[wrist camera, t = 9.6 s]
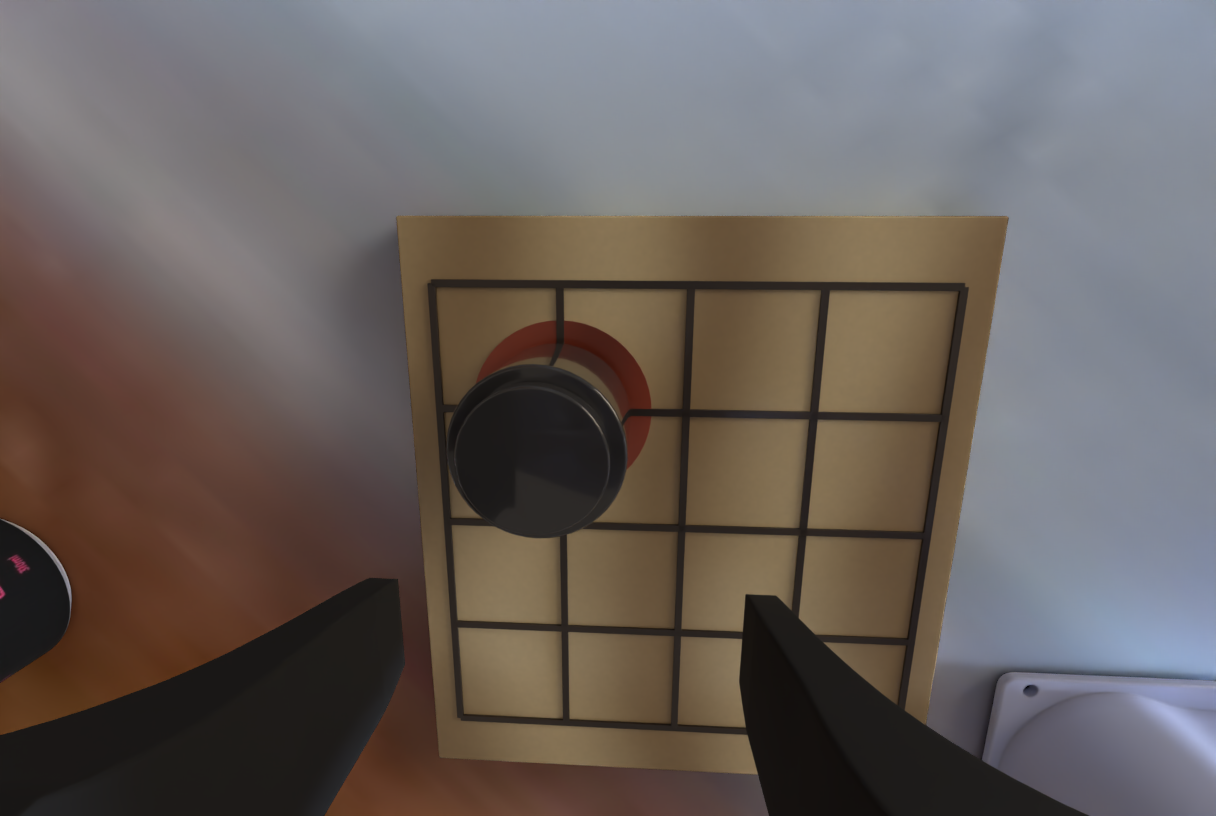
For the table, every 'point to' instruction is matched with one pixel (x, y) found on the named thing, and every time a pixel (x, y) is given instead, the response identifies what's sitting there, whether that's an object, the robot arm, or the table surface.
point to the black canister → (541, 442)
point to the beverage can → (29, 599)
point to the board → (698, 466)
